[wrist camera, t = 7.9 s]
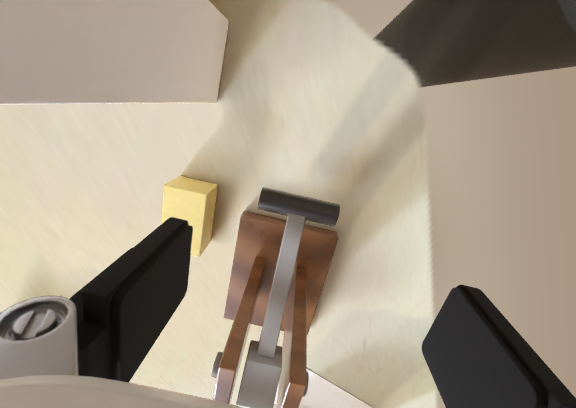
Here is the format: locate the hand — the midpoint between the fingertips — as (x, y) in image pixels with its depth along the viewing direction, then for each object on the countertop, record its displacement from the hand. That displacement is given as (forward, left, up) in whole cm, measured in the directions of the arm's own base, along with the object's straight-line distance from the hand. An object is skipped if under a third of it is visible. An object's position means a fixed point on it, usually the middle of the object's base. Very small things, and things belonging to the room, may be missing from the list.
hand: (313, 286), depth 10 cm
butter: (+6, -10, -15) cm, 19 cm away
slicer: (+11, -1, -15) cm, 19 cm away
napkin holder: (+30, +7, -16) cm, 34 cm away
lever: (+6, -1, -7) cm, 10 cm away
